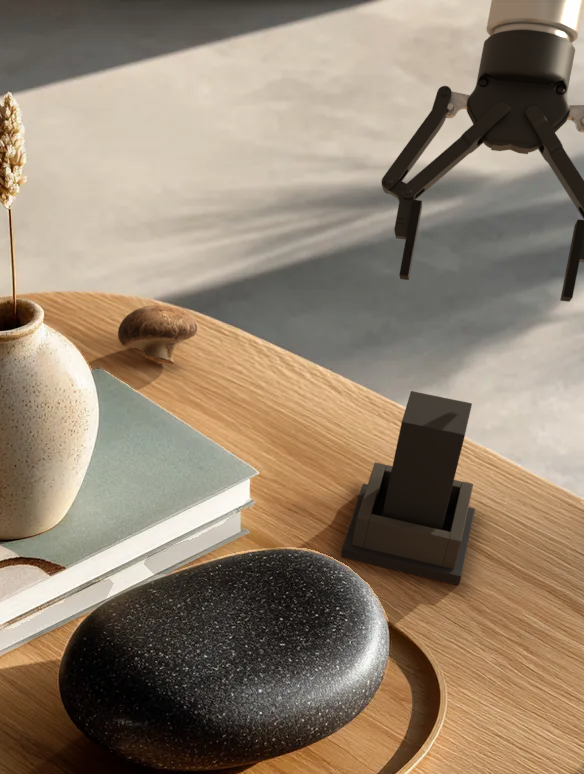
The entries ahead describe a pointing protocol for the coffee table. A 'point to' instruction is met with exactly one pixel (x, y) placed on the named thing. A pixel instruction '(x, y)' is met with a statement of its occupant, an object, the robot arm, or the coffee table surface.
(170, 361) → the mushroom
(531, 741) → the coffee table surface
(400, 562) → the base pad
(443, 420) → the dark rectangular block
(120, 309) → the coffee table surface
